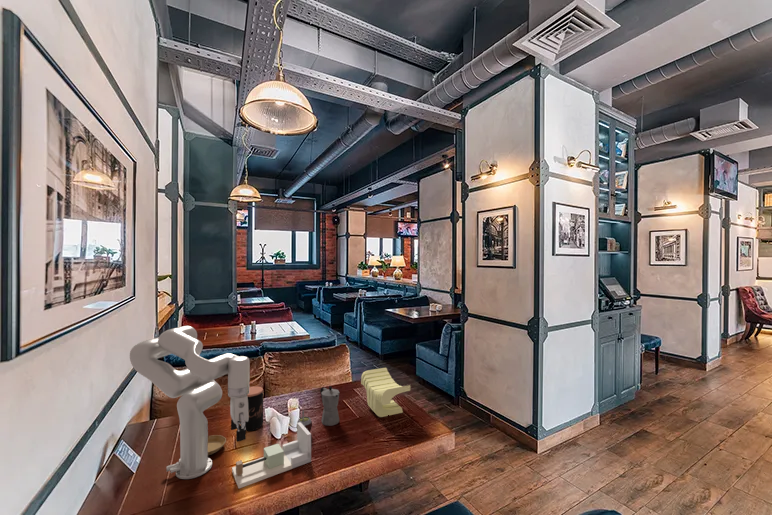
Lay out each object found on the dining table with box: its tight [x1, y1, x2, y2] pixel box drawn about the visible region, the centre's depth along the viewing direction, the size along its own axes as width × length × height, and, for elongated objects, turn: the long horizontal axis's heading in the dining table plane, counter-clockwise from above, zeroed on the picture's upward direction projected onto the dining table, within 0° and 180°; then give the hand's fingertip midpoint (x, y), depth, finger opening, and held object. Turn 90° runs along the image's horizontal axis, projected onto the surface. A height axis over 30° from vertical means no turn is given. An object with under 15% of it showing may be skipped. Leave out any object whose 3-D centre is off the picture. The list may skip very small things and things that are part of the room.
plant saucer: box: [208, 434, 227, 456], centre depth 147 cm, size 15×15×3 cm
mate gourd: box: [296, 409, 313, 433], centre depth 158 cm, size 8×8×15 cm
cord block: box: [235, 443, 284, 476], centre depth 133 cm, size 17×7×5 cm, turn 125°
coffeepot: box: [320, 386, 341, 427], centre depth 173 cm, size 15×9×18 cm, turn 44°
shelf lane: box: [231, 422, 312, 489], centre depth 136 cm, size 28×12×12 cm, turn 125°
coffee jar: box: [240, 385, 264, 432], centre depth 167 cm, size 11×11×18 cm
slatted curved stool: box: [360, 367, 411, 418], centre depth 185 cm, size 30×16×18 cm, turn 25°
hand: (238, 434), depth 129 cm, fingers open, 9 cm apart
